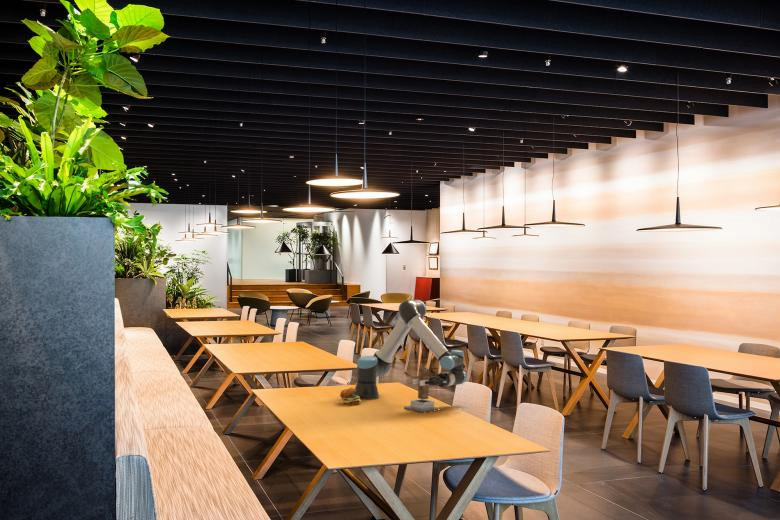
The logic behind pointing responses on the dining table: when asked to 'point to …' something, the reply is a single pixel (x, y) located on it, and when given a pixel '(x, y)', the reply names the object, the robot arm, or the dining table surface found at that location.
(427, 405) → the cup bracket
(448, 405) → the dining table surface
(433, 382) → the robot arm
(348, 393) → the cheeseburger
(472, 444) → the dining table surface
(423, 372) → the walnut post
